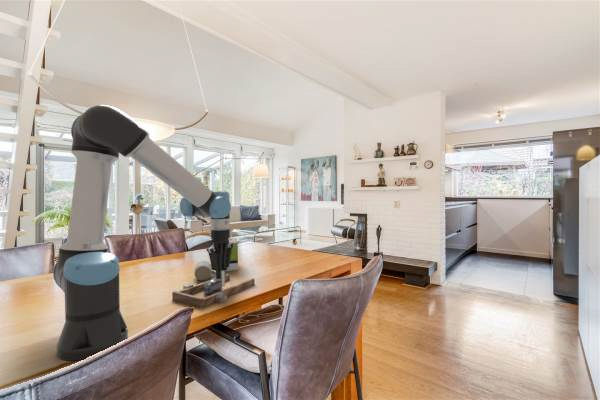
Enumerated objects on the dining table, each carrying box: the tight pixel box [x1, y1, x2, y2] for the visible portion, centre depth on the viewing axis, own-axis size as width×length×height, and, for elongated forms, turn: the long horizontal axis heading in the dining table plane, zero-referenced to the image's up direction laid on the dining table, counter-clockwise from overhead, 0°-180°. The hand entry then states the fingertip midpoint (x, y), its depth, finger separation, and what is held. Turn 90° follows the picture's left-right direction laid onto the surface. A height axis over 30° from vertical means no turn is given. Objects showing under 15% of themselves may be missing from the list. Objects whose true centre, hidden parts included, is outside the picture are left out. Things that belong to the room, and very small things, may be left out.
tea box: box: [225, 237, 239, 272], centre depth 155 cm, size 15×10×15 cm, turn 17°
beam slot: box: [171, 273, 255, 309], centre depth 117 cm, size 29×20×3 cm
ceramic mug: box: [194, 260, 216, 282], centre depth 135 cm, size 11×8×8 cm
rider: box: [203, 279, 223, 297], centre depth 115 cm, size 7×7×5 cm
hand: (220, 286), depth 119 cm, fingers closed
